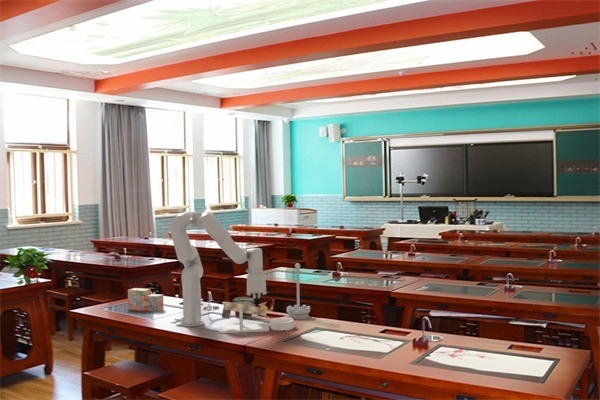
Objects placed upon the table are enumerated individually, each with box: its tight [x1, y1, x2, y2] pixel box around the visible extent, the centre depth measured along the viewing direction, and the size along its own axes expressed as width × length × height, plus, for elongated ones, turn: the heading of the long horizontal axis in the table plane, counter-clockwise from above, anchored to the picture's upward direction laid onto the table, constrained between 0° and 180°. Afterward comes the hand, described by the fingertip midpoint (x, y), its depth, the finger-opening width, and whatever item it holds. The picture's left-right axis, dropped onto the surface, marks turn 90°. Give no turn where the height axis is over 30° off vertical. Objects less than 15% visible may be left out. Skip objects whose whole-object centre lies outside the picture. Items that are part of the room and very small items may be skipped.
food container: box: [232, 296, 254, 318], centre depth 333 cm, size 12×6×10 cm, turn 84°
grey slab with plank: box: [221, 301, 268, 320], centre depth 307 cm, size 22×18×7 cm
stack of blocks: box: [127, 287, 164, 313], centre depth 353 cm, size 21×6×12 cm, turn 69°
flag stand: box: [286, 262, 311, 320], centre depth 328 cm, size 13×13×30 cm
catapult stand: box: [218, 309, 270, 334], centre depth 301 cm, size 25×12×11 cm, turn 96°
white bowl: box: [269, 317, 295, 332], centre depth 303 cm, size 12×12×4 cm
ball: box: [260, 305, 269, 312], centre depth 302 cm, size 4×4×4 cm
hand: (257, 305), depth 314 cm, fingers closed
